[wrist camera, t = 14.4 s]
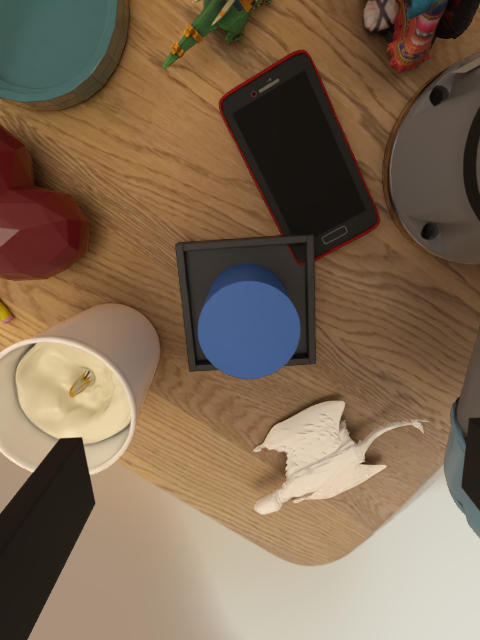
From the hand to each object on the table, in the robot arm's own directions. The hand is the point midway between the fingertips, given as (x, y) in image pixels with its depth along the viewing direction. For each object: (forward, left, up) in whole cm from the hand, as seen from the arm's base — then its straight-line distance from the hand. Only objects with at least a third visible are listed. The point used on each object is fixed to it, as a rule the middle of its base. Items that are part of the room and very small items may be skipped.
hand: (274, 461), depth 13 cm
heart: (+18, -9, -22) cm, 30 cm away
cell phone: (-4, -11, -23) cm, 26 cm away
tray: (+1, 0, -22) cm, 22 cm away
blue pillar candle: (+1, 0, -22) cm, 22 cm away
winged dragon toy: (-7, +15, -22) cm, 27 cm away
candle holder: (+13, +3, -22) cm, 26 cm away
